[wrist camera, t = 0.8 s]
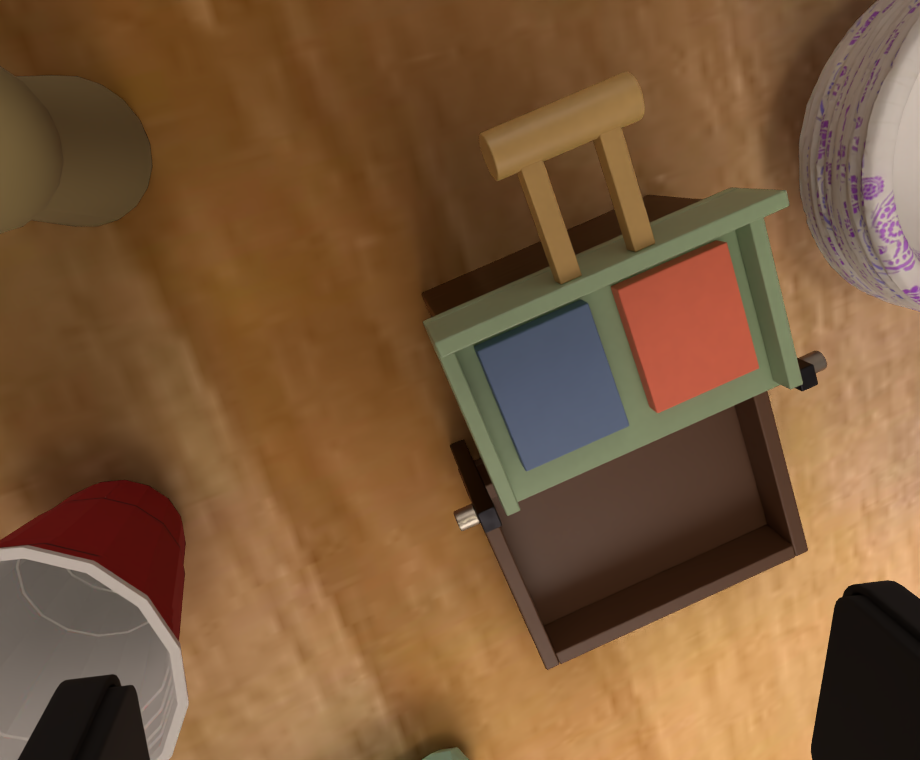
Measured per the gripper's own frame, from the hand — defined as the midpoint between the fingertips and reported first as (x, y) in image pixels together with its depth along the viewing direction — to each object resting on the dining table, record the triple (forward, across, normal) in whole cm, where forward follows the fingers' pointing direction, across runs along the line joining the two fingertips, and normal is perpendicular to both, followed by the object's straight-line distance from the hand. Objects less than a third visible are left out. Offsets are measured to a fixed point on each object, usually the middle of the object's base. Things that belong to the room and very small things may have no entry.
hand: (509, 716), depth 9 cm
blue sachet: (+18, -6, +2) cm, 19 cm away
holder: (+25, -12, +11) cm, 30 cm away
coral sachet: (+18, -11, 0) cm, 21 cm away
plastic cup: (+26, +14, +10) cm, 31 cm away
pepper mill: (+26, +13, -8) cm, 30 cm away
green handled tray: (+19, -8, -2) cm, 20 cm away
